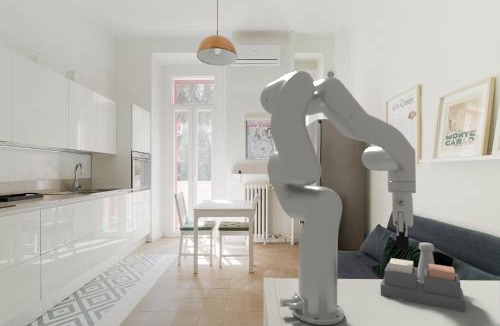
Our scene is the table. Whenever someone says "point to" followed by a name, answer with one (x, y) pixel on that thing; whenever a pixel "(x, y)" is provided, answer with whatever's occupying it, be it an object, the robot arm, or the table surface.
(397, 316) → the table surface
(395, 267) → the ivory key
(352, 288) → the table surface
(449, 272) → the terracotta key
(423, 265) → the salt shaker
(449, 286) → the key panel
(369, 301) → the table surface
